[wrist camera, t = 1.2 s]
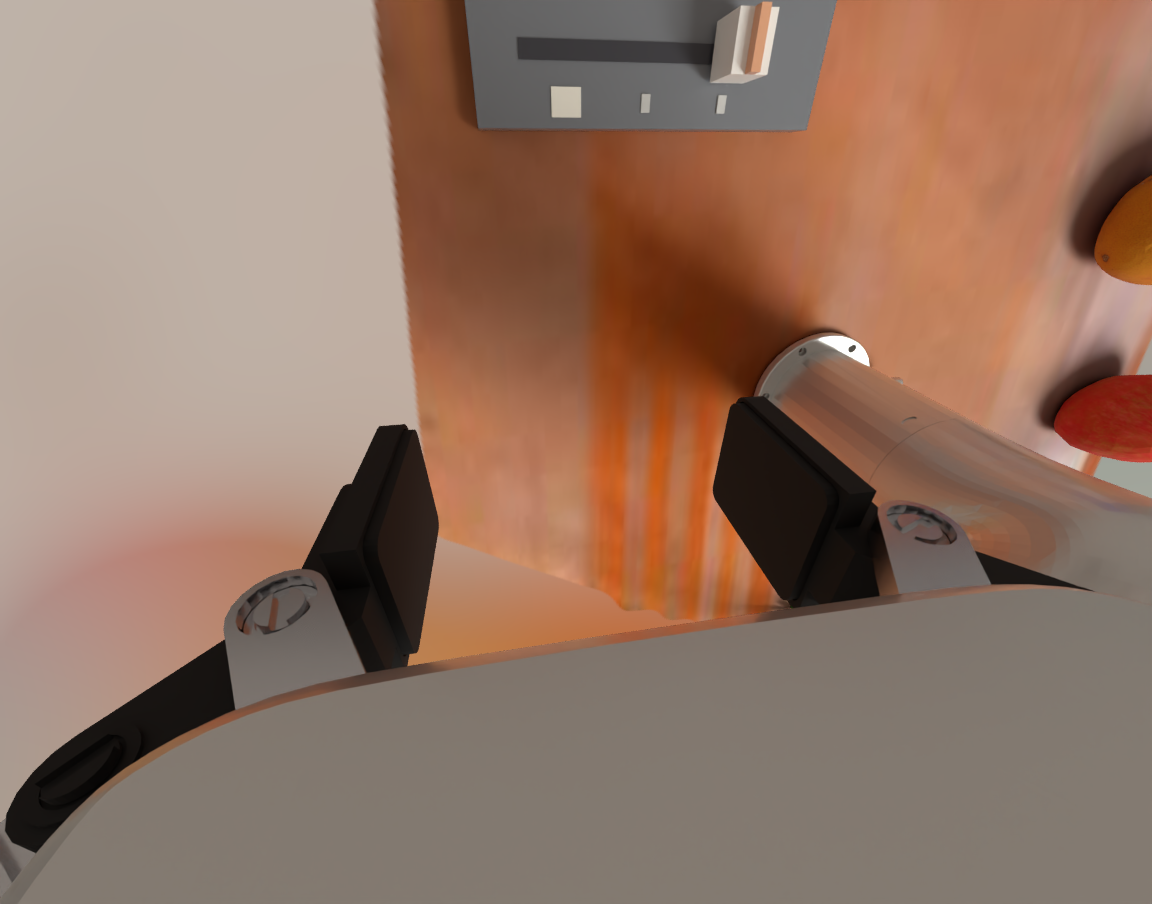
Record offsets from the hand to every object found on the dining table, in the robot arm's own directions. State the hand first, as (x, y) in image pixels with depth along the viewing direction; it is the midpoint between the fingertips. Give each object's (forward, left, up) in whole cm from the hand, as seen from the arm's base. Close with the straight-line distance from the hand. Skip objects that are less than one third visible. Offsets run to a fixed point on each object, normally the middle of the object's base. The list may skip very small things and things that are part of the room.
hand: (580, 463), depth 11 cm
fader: (-15, -13, -27) cm, 34 cm away
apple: (-70, +19, -30) cm, 79 cm away
